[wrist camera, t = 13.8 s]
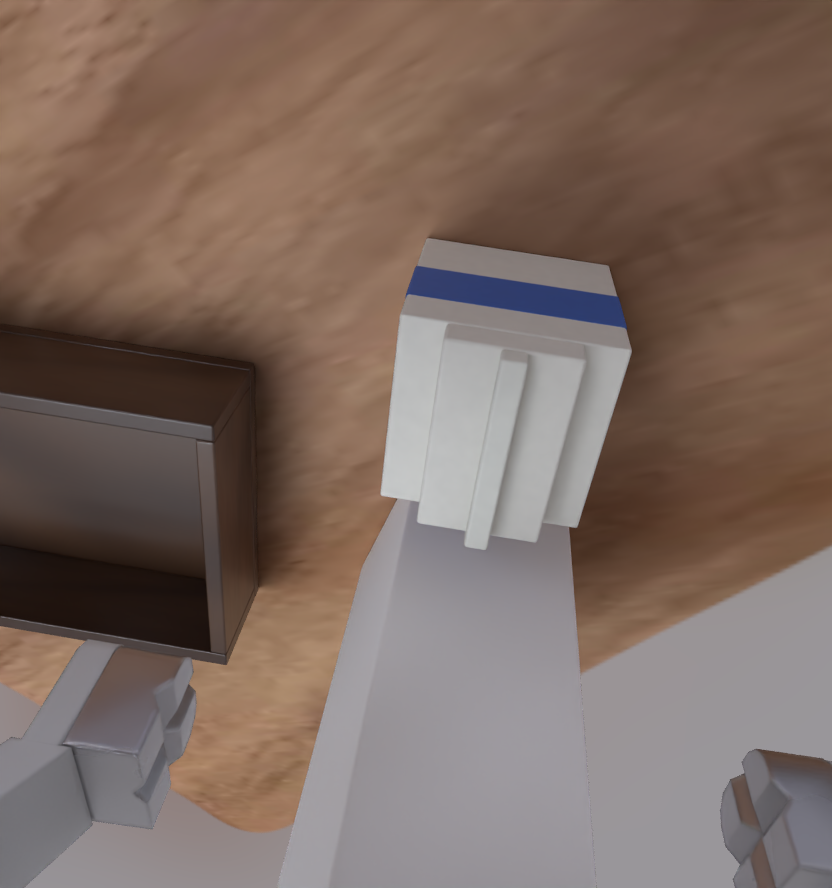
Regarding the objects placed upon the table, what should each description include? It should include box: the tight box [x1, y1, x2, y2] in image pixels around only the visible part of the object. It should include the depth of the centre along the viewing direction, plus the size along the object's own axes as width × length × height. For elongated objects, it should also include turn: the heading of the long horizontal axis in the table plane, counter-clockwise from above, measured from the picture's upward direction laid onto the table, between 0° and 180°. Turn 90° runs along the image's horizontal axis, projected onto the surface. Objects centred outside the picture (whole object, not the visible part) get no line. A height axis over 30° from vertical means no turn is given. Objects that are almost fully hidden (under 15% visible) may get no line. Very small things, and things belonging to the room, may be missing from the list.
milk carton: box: [381, 238, 632, 550], centre depth 20 cm, size 5×5×7 cm
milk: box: [277, 499, 597, 888], centre depth 19 cm, size 6×6×22 cm
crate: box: [0, 324, 258, 665], centre depth 26 cm, size 11×15×4 cm
